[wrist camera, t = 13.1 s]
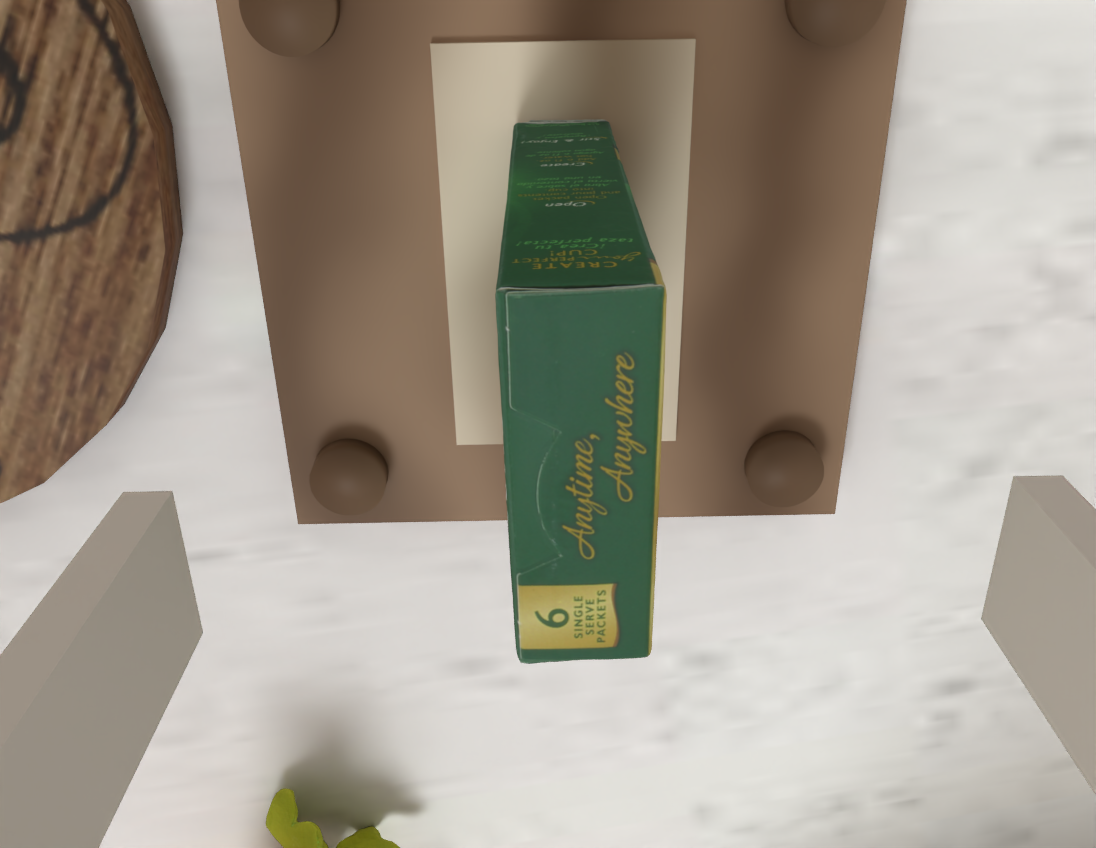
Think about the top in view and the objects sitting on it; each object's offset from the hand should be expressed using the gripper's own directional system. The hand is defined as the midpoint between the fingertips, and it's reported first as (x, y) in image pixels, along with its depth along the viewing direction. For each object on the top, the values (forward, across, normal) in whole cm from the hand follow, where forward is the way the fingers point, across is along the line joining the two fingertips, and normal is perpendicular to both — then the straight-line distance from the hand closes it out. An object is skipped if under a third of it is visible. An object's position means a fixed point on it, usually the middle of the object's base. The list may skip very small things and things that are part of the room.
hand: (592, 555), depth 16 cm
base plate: (+17, 0, 0) cm, 17 cm away
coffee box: (+15, 0, 0) cm, 15 cm away
